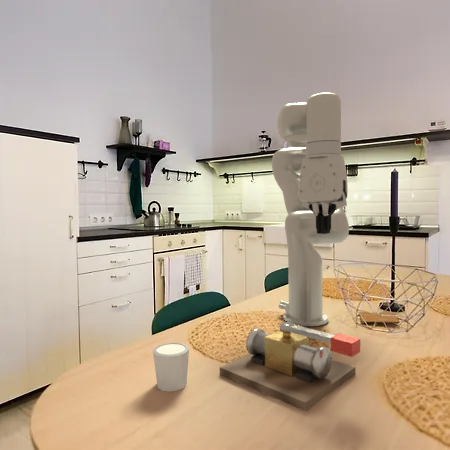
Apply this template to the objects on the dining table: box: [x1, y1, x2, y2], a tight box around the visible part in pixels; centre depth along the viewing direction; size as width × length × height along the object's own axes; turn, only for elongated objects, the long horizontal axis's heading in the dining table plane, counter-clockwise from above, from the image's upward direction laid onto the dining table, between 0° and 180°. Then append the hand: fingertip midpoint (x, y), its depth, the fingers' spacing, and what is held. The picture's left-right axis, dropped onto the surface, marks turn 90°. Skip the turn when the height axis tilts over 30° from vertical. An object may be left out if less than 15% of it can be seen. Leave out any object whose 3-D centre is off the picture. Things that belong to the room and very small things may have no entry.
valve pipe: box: [245, 327, 333, 383], centre depth 76 cm, size 17×6×7 cm, turn 46°
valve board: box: [219, 353, 356, 412], centre depth 77 cm, size 20×18×2 cm
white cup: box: [152, 342, 190, 393], centre depth 73 cm, size 7×7×7 cm
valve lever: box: [279, 321, 361, 358], centre depth 71 cm, size 3×16×2 cm, turn 45°
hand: (323, 233), depth 87 cm, fingers closed
